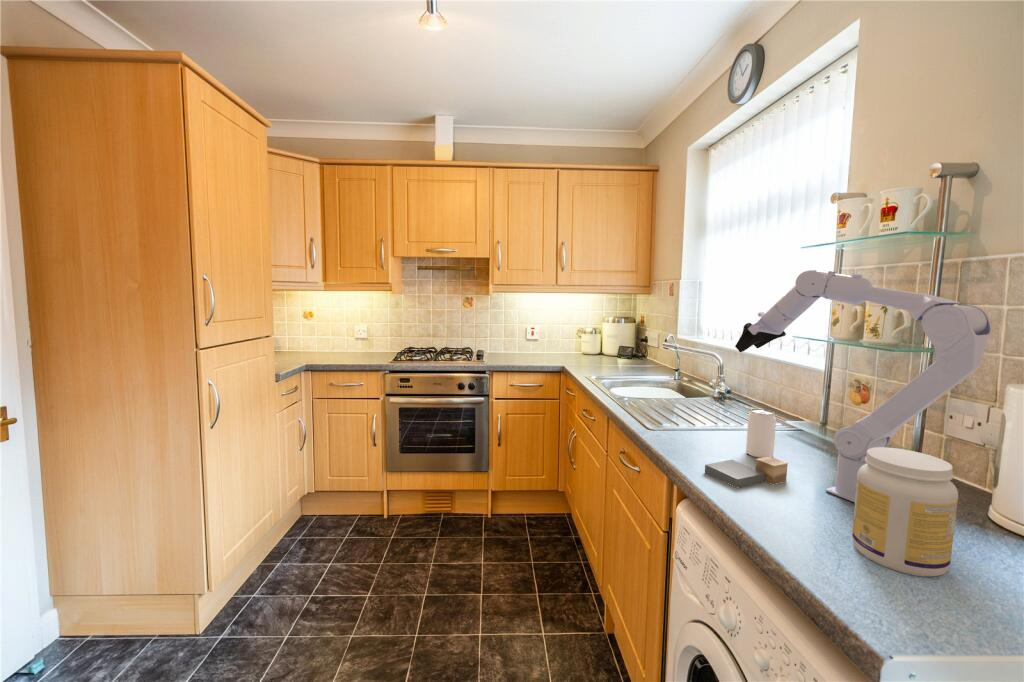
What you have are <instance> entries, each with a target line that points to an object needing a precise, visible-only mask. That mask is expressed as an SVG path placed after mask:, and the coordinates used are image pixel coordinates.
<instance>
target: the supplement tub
mask: <svg viewBox="0 0 1024 682" xmlns="http://www.w3.org/2000/svg"><path fill="white" fill-rule="evenodd" d="M865 461H866V463H867V464H865V465H863V466H862V467H860V469H859V470H858V474H857V486H856V497H855V503H854V510H853V511H854V513H853V520H852V521H853V522H852V533H851V537H852V538H851V539H852V543H853V545H854V546H855V548H856V550H858V551H859V553H861V554H862V556H864V557H866V558H867V559H869V560H871V561H872V562H874V563H876V564H878V565H881V566H883V567H885V568H888V569H891V570H894V571H896V572H899V573H902V574H907V575H912V576H915V577H916V576H917V577H928V578H929V577H938V576H942V575H945V574H946V573H947V572H948V571H949V568H950V566H951V560H952V559H951V558H952V551H953V543H954V535H955V534H954V533H955V528H956V526H955V525H956V516H957V509H958V500H959V491H958V489H957V487H956V486H955V484H954V482H952V481H951V480H953V479H954V474H953V471H954V469H953V468H954V467H953V465H952V464H951V463H950V462H948V461H946V460H945V459H944V460H943V459H941V458H939V457H937V456H933V455H931V454H926V453H923V452H918V451H914V450H909V449H903V448H897V447H896V448H895V447H876V448H870V449H868V450H867V454H866V457H865Z"/></svg>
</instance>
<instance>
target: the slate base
mask: <svg viewBox="0 0 1024 682" xmlns="http://www.w3.org/2000/svg"><path fill="white" fill-rule="evenodd" d="M704 473H705V474H706V473H707V474H706V475H708V474H709V476H711V477H712V478H715V479H717V478H718V479H717V480H719V479H720V480H719V481H721V480H722V481H721V482H723V481H724V482H723V483H725V482H726V483H725V484H727V483H729V484H728V485H730V484H731V485H730V486H732V485H733V486H732V487H734V486H735V487H734V488H736V487H739V488H742V487H743V486H744V487H747V485H748V486H752V485H756V483H757V484H761V483H766V482H765V475H766V473H764V472H761V471H759V470H756V468H755V467H751V466H749V465H746V464H744V463H742V462H739V461H737V460H734V459H729V460H723V461H717V462H713V463H707V464H705V465H704Z"/></svg>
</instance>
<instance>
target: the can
mask: <svg viewBox="0 0 1024 682" xmlns="http://www.w3.org/2000/svg"><path fill="white" fill-rule="evenodd" d="M775 413H776V412H774V411H772V410H769V409H766V408H751V409H750V412H749V413H748V416H747V417H748V418H747V428H746V429H747V431H746V444H745V446H746V447H745V452H746V453H748V454H749V456H750V455H751V456H750V457H753V458H755V459H759V458H764V457H769V456H770V457H772V458H774V452H775V442H776V441H775V440H776V439H775V438H776V425H777V418H776V416H775ZM748 454H747V455H748Z"/></svg>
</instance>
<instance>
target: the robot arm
mask: <svg viewBox="0 0 1024 682" xmlns="http://www.w3.org/2000/svg"><path fill="white" fill-rule="evenodd" d="M820 298H824V299H825V300H830V301H835V302H840V303H844V304H849V305H854V306H860V305H861V304H864V303H865V302H870V303H875V304H878V305H882V306H886V307H891V308H896V309H900V310H904V311H908V313H909V314H910V315H911V317H912V319H913V320H914V321H915V322H916V321H917V322H918V321H919V322H921V323H920V324H921V328H922V331H923V332H924V334H925V336H926V337H927V339H928V340H929V342H930V343H931V344H932V346H933V347H934V348H933V349H934V353H935V356H936V360H935V361H934V362H932V364H931V365H928V367H927V368H925V369H924V370H923V371H922V372H920V373H919V374H918V375H916V376H915V378H913V379H912V380H911V381H910V382H908V383H907V384H906V385H904V386H903V387H902V388H900V389H899V390H898V391H897V392H896V393H895V394H894V395H892V396H891V397H890V398H889V399H887V400H886V401H885V402H883V403H882V404H881V405H880V406H879V407H877V408H876V409H874V410H873V411H872V412H871V413H870V414H869V415H866V416H865V417H862V418H861V419H859V420H857V421H856V422H854V423H853V424H852V425H850V426H845V427H841V428H839V429H837V430H836V431H835V433H834V435H833V446H834V447H835V449H836V450H837V451H838V455H837V466H836V477H835V486H831V487H828V488H825V492H827V493H829V494H832V495H834V496H837V497H839V498H842V499H845V500H847V501H850V502H852V503H854V504H855V497H856V486H857V474H858V470H859V469H860V467H862V466H863V465H865V464H867V463H866V461H865V457H866V454H867V450H868V449H870V448H876V447H887V448H889V447H888V446H889V444H890V441H891V439H892V438H893V437H894V436H895V435H897V433H898V430H899V429H900V428H902V427H903V426H904V425H906V424H907V423H909V422H910V421H911V420H912V419H914V418H915V417H917V416H918V415H920V414H921V413H922V412H923V411H925V410H926V409H927V408H929V407H930V406H931V405H933V404H934V403H935V402H936V401H937V400H939V399H941V398H942V397H943V396H945V395H946V394H947V393H949V392H950V391H951V390H953V389H954V388H955V387H956V386H958V385H960V383H962V382H963V381H964V380H966V379H967V378H968V377H970V376H971V375H973V374H974V373H976V372H977V371H978V369H979V368H981V365H982V362H983V358H984V355H985V351H986V348H987V343H988V341H989V338H990V336H991V335H992V334H993V332H994V331H993V327H992V325H991V321H990V318H989V315H988V313H987V312H986V311H985V310H983V308H981V307H978V306H976V305H973V304H961V302H959V301H956V300H953V299H950V298H945V297H941V296H938V295H933V294H928V293H927V294H925V293H919V292H914V291H908V290H900V289H893V288H887V287H880V286H874V285H873V284H872V282H871V281H870V280H869V279H868V278H865V277H863V274H858V273H852V275H846V274H843V273H842V274H841V273H837V271H836V270H828V271H826V270H816V269H815V270H813V269H812V270H806V271H803V272H801V273H800V274H799V275H798V276H797V278H796V280H795V285H793V287H791V288H790V289H789V290H788V291H787V292H786V293H785V294H784V295H783V296H782V297H781V298H780V299H779V300H778V301H777V302H775V304H774V305H773V306H772V307H771V308H769V310H767V311H766V312H762V311H760V312H758V313H757V316H758V317H759V318H758V319H757V321H755V322H754V323H751V322H747V323H745V324H744V325H743V329H742V333H741V335H740V337H739V339H738V341H737V342H736V343H735V346H734V347H735V348H736V349H737V351H738V352H739V353H742V352H745V351H747V350H748V349H750V348H751V347H752V346H754V347H755V348H756V349H761V348H762V347H763V346H765V345H766V344H769V343H771V342H772V341H774V340H776V339H779V338H782V337H786V335H787V333H786V332H785V329H787V328H788V327H789V326H790V325H791V324H792V323H793V322H794V321H796V320H797V319H798V318H799V317H800V316H801V315H802V314H804V313H805V312H806V311H807V310H808V309H809V308H810V307H812V305H813V304H814V303H816V301H817V300H819V299H820ZM957 304H961V305H957Z"/></svg>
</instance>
